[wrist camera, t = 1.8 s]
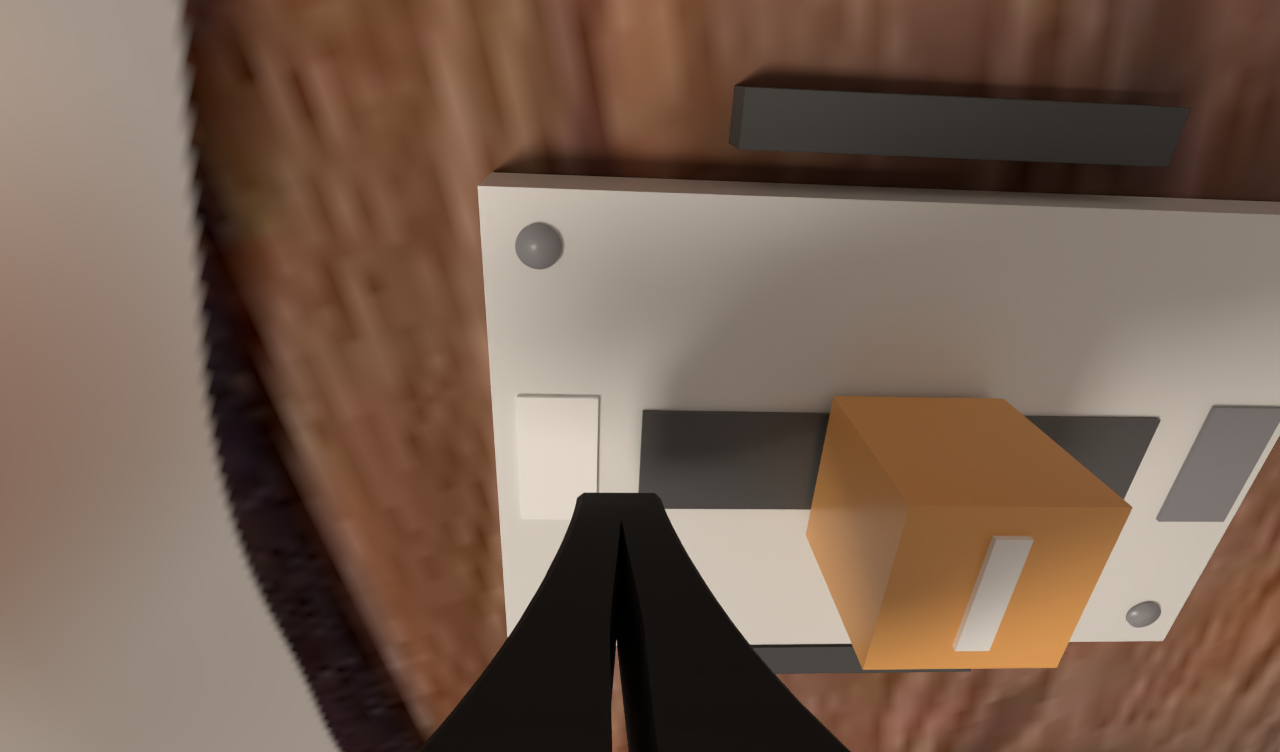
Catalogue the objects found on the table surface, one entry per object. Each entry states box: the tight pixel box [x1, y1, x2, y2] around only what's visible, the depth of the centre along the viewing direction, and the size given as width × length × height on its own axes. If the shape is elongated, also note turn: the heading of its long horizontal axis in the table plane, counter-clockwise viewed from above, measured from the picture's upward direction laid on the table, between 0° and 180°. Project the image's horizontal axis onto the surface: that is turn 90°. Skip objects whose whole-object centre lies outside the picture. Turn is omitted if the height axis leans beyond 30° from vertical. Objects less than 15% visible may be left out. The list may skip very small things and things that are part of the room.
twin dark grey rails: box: [729, 85, 1191, 674], centre depth 15 cm, size 14×8×1 cm, turn 178°
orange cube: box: [806, 396, 1133, 670], centre depth 12 cm, size 4×4×4 cm
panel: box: [478, 172, 1280, 646], centre depth 14 cm, size 11×17×2 cm, turn 88°
